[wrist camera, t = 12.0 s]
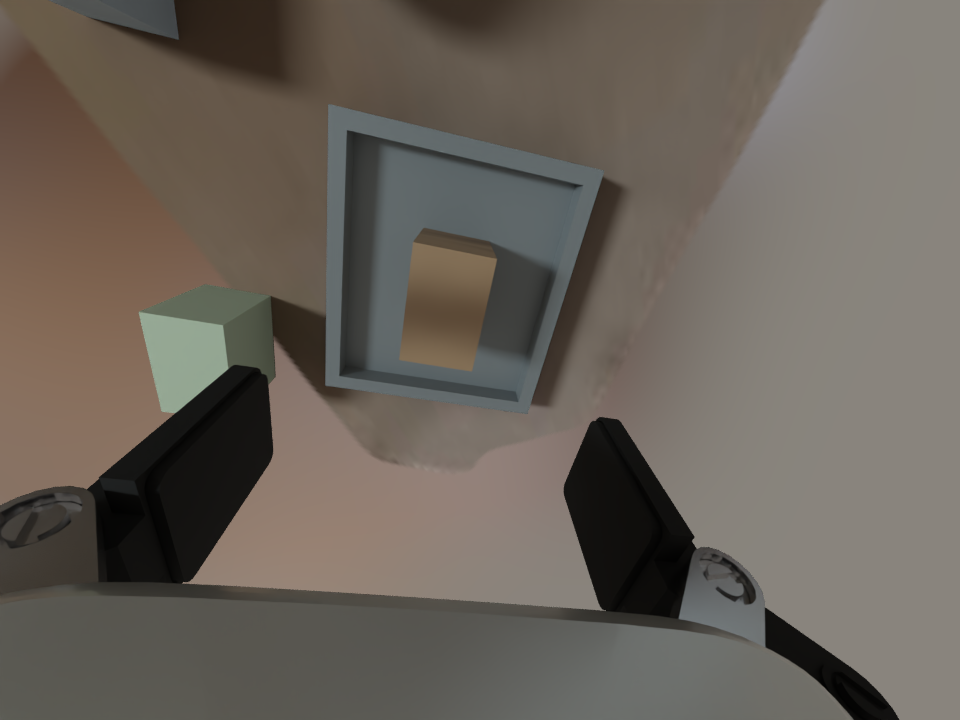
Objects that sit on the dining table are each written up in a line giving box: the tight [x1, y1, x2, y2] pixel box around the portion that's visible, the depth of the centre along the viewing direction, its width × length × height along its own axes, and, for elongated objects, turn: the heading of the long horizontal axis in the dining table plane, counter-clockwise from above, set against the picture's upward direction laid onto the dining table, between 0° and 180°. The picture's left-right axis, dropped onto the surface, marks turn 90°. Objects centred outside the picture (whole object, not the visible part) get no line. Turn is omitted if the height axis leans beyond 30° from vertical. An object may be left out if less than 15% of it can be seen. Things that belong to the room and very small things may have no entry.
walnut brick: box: [399, 228, 497, 371], centre depth 23 cm, size 7×4×6 cm, turn 168°
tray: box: [325, 104, 604, 414], centre depth 25 cm, size 18×16×2 cm
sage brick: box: [139, 284, 276, 413], centre depth 25 cm, size 7×4×6 cm, turn 169°
